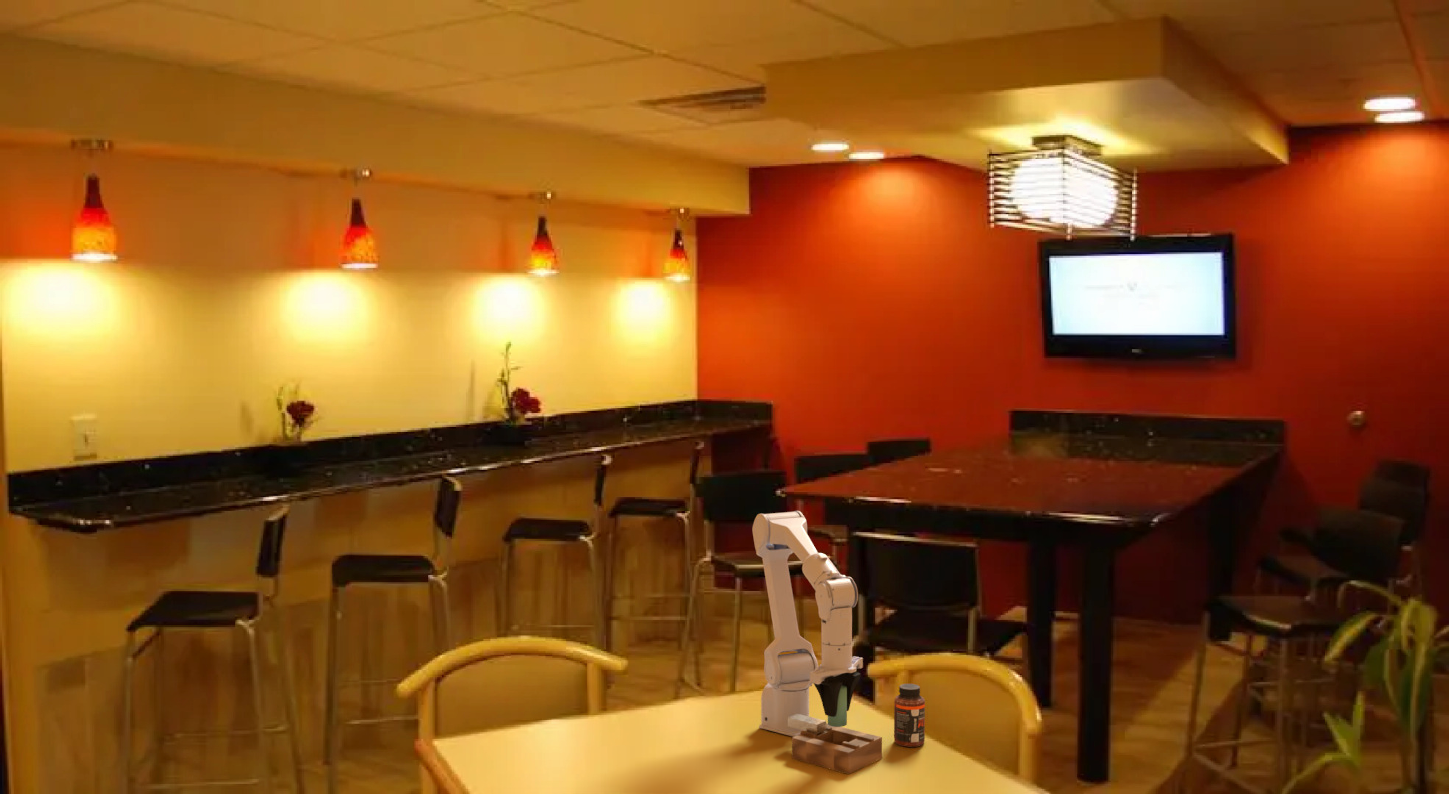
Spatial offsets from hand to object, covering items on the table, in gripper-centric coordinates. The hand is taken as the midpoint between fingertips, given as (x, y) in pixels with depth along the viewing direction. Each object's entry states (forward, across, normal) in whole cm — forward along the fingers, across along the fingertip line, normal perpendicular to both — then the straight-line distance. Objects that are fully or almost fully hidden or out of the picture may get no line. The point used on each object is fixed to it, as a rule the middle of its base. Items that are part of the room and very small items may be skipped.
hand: (836, 713), depth 236 cm
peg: (+2, 0, 0) cm, 2 cm away
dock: (+9, 0, 0) cm, 9 cm away
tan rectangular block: (+4, 0, +7) cm, 8 cm away
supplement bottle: (+9, +16, -6) cm, 19 cm away
